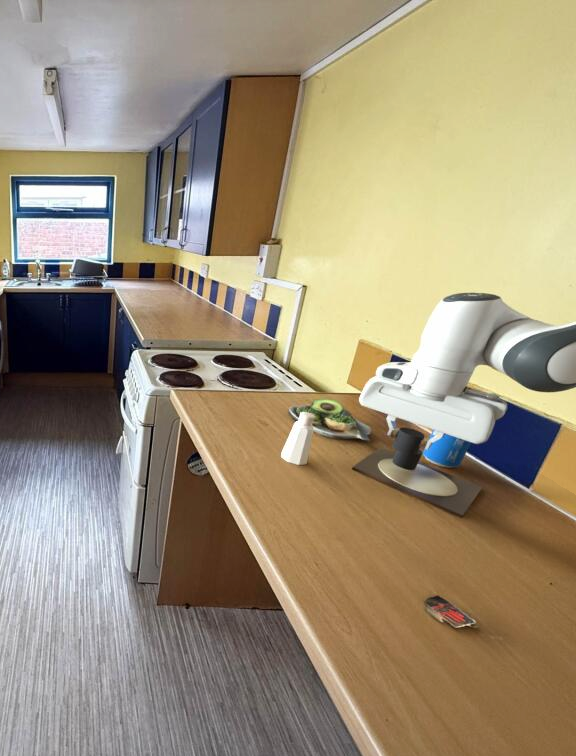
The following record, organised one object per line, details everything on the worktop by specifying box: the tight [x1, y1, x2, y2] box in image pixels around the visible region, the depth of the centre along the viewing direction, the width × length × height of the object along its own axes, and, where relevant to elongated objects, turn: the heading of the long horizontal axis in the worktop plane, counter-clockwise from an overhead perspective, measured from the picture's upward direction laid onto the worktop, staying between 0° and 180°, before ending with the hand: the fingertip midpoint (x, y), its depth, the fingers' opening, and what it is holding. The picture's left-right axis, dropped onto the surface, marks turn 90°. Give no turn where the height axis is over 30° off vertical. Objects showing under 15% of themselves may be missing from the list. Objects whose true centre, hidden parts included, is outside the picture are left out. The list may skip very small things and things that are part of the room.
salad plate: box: [288, 398, 372, 442], centre depth 104 cm, size 19×18×5 cm
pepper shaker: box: [280, 412, 315, 466], centre depth 87 cm, size 5×5×11 cm
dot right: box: [392, 427, 426, 454], centre depth 82 cm, size 4×4×4 cm
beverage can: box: [422, 429, 472, 469], centre depth 89 cm, size 6×6×12 cm
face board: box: [351, 447, 483, 518], centre depth 84 cm, size 18×16×1 cm
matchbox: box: [423, 594, 479, 629], centre depth 54 cm, size 5×5×1 cm
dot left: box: [392, 449, 423, 470], centre depth 87 cm, size 4×4×4 cm
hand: (407, 441), depth 82 cm, fingers closed on dot right, 4 cm apart
